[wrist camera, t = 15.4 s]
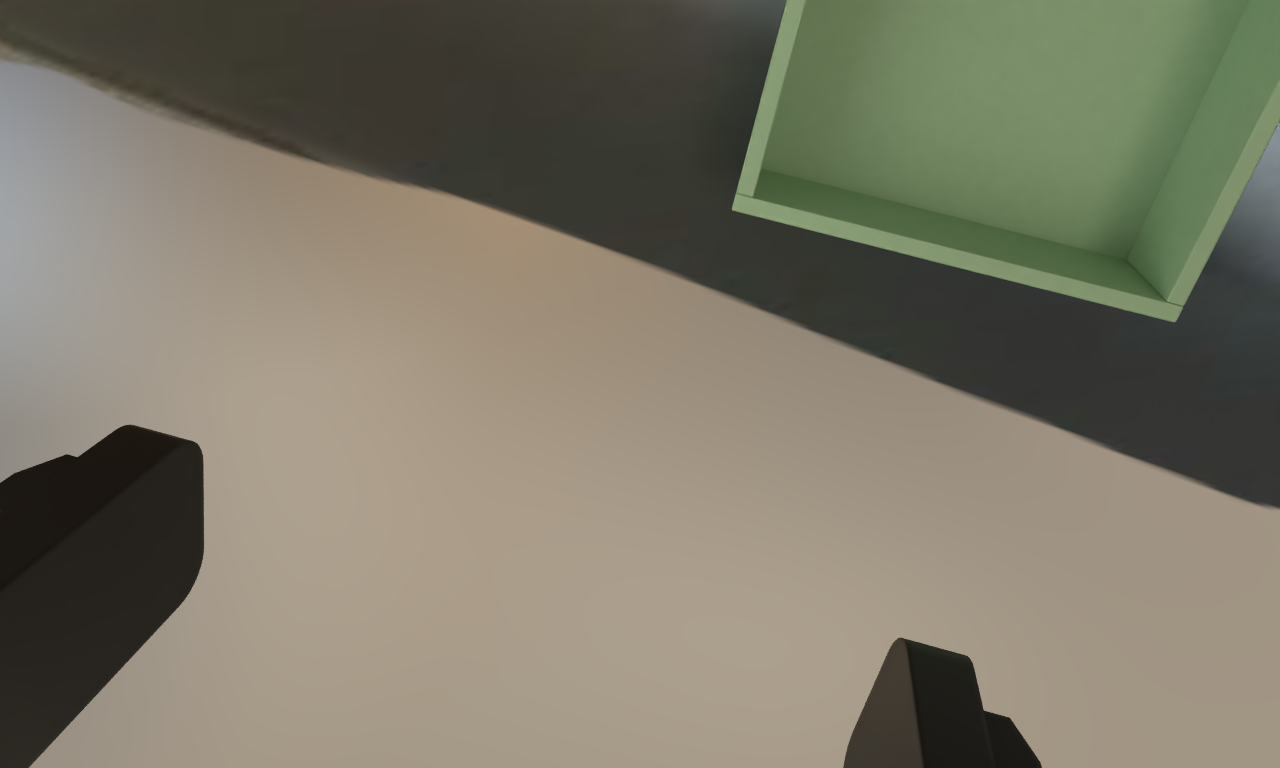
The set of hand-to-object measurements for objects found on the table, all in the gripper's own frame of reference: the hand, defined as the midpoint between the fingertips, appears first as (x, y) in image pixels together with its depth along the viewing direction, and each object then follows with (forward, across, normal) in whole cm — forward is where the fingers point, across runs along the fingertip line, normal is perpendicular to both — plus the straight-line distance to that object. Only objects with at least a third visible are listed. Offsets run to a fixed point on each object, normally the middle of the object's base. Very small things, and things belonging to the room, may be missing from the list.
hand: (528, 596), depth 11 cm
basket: (+28, -9, -5) cm, 30 cm away
